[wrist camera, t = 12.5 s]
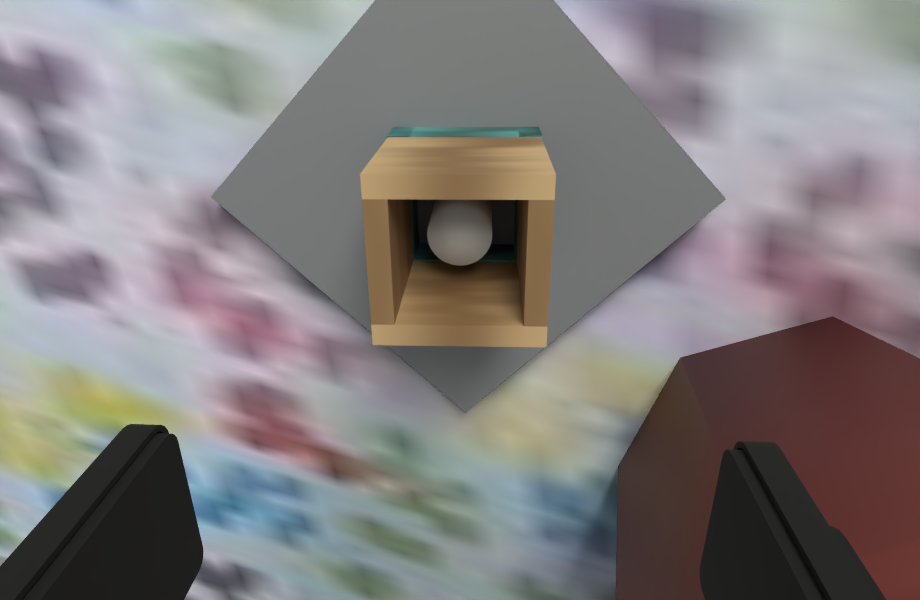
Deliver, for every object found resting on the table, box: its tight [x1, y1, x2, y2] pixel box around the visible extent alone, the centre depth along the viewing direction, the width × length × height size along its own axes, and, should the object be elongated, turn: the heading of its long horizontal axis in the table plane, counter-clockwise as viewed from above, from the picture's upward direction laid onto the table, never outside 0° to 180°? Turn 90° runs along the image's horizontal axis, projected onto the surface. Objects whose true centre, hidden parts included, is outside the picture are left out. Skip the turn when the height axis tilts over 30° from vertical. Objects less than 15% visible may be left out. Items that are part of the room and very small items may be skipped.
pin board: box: [211, 0, 726, 413], centre depth 26 cm, size 16×16×6 cm
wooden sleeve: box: [360, 127, 556, 347], centre depth 24 cm, size 6×6×8 cm
